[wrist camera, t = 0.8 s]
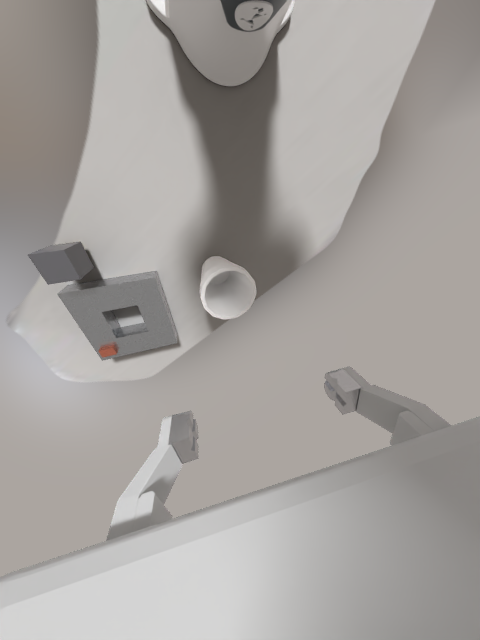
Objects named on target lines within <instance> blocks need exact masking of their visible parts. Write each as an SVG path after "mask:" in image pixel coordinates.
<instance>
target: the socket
mask: <svg viewBox="0 0 480 640" xmlns="http://www.w3.org/2000/svg"><path fill="white" fill-rule="evenodd" d="M58 296H59V297H60V299H61V300H62V302H63V303H64V305H65V306H66V308H67V309H68V311H69V312H70V314H71V315H72V317H73V318H74V320H75V321H76V323H77V324H78V325H79V327H80V328H81V330H82V331H83V333H84V334H85V336H86V337H87V339H88V340H89V342H90V343H91V345H92V346H93V348H94V349H95V351H96V352H97V354H98V355H99V357H100V358H101V360H107V359H111V358H115V357H119V356H124V355H128V354H132V353H137V352H141V351H145V350H150V349H154V348H158V347H163V346H167V345H171V344H175V343H177V331H176V328H175V325H174V322H173V319H172V316H171V313H170V310H169V307H168V304H167V301H166V298H165V295H164V292H163V289H162V286H161V283H160V280H159V277H158V274H157V271H153V272H146V273H140V274H134V275H128V276H122V277H116V278H109V279H103V280H97V281H91V282H85V283H79V284H73V285H68V286H66V287H65V288H64V289H63V290H62V291H60V292H59V293H58ZM136 305H137V306H138V308H139V310H140V313H141V315H142V317H143V320H144V322H145V323H141V324H136V325H131V326H126V327H120V325H119V323H118V321H117V320H116V318H115V316H114V314H113V312H112V310H115V309H120V308H126V307H131V306H136Z"/></svg>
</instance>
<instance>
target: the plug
mask: <svg viewBox="0 0 480 640" xmlns="http://www.w3.org/2000/svg"><path fill="white" fill-rule="evenodd" d="M28 256H29V258H30V259H31V260H32V262H33V263H34V265H35V266H36V268H37V269H38V271H39V272H40V274H41V275H42V277H43V278H44V279H45V281H46V282H47V284H54V283H61V282H67V281H73V280H80V279H82V278H83V277H84V276H85V275H86V274H87V273H88V272H90V271H91V270H92V269H93V268H94V267H93V265H92V263H91V261H90V259H89V257H88V255H87V253H86V251H85V249H84V247H83V245H82V243H81V242H74V243H66V244H58V245H51V246H48V247H46V248H43V249H41V250H38V251H36V252H33V253H31V254H28Z"/></svg>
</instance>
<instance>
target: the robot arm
mask: <svg viewBox="0 0 480 640" xmlns="http://www.w3.org/2000/svg"><path fill="white" fill-rule="evenodd" d="M146 1H147V3H148V5H149V7H150V8H151V10H152V11H153V12H154V13H155V14H156V15H157V17H158V18H159V19H160V20H161V21H163V22H164V23H165V24H166V25H167V26H168V27H169V28H170V29H171V31H172V32H173V33H174V35H175V37H176V38H177V40H178V42H179V44H180V45H181V47H182V49H183V51H184V52H185V54H186V56H187V57H188V59H189V60H190V61H191V63H192V64H193V65H194V66H195V67H196V69H197V70H198V71H199V72H200V73H201V74H203V75H204V76H205V77H206V78H208V79H209V80H211V81H212V82H214V83H217V84H219V85H223V86H237V85H240V84H243V83H245V82H246V81H248V80H249V79H251V78H252V77H253V76H254V75H255V74H256V73H257V72H258V70H259V69H260V67H261V66H262V64H263V62H264V61H265V59H266V56H267V54H268V52H269V49H270V46H271V44H272V41H273V39H274V37H275V35H276V34H277V33H278V32H279V31H280V30H281V29H282V28H283V27H284V25H285V24H286V23H287V21H288V20H289V18H290V16H291V13H292V11H293V8H294V0H146ZM325 379H326V382H325V383H324V388H325V391H326V393H327V395H328V397H329V398H330V399H332V400H334V401H335V406H336V407H337V408H338V410H339V411H340V412H341V413H342V414H346V413H350V412H354V411H356V412H358V413H359V414H361V415H363V416H364V417H366V418H368V419H369V420H371V421H373V422H374V423H376V424H378V425H379V426H381V427H383V428H384V429H386V430H387V431H389V432H391V433H392V437H391V440H390V444H391V445H392V446H390V447H386V448H383V449H381V450H377V451H374V452H371V453H369V454H365V455H362V456H359V457H356V458H354V459H350V460H347V461H344V462H341V463H338V464H335V465H332V466H329V467H326V468H323V469H321V470H317V471H314V472H311V473H308V474H305V475H302V476H300V477H297V478H293V479H290V480H287V481H284V482H282V483H278V484H275V485H272V486H269V487H266V488H264V489H260V490H257V491H254V492H252V493H248V494H245V495H242V496H239V497H236V498H233V499H230V500H227V501H224V502H221V503H219V504H215V505H212V506H209V507H206V508H203V509H200V510H197V511H195V512H192V513H188V514H185V515H182V516H180V517H176V518H174V519H172V515H171V514H170V512H169V511H168V510H167V509H166V507H165V506H164V503H165V501H166V499H167V497H168V495H169V493H170V491H171V489H172V486H173V484H174V482H175V480H176V478H177V476H178V474H179V471H180V469H181V467H182V464H183V463H186V462H189V461H192V460H195V459H198V444H197V441H196V440H197V439H198V427H197V423H196V420H195V419H193V413H192V411H188V412H184V413H180V414H176V415H172V416H168V417H165V418H164V419H163V420H162V424H161V430H160V436H159V441H158V447H157V448H156V449H154V450H153V452H152V453H151V454H150V456H149V457H148V459H147V460H146V462H145V463H144V464H143V466H142V467H141V469H140V470H139V472H138V473H137V474H136V476H135V477H134V479H133V480H132V481H131V483H130V484H129V486H128V487H127V488H126V490H125V491H124V493H123V494H122V496H121V497H120V498H119V500H118V502H117V505H116V509H115V512H114V516H113V519H112V522H111V526H110V529H109V533H108V536H107V540H106V541H105V542H101V543H99V544H95V545H93V546H90V547H86V548H84V549H81V550H77V551H74V552H71V553H69V554H65V555H62V556H59V557H57V558H53V559H50V560H47V561H45V562H42V563H38V564H35V565H32V566H29V567H26V568H23V569H20V570H17V571H14V572H11V573H9V574H6V575H4V576H2V577H0V640H480V417H476V418H473V419H470V420H467V421H464V422H461V423H458V424H455V425H452V426H451V425H450V424H449V423H448V422H446V421H445V420H444V419H443V418H441V417H440V416H439V415H437V414H436V413H435V412H434V411H432V410H431V409H430V408H429V407H427V406H426V405H425V404H422V403H420V402H417V401H414V400H412V399H409V398H407V397H404V396H401V395H399V394H396V393H394V392H391V391H388V390H386V389H383V388H380V387H378V386H376V385H370V384H369V383H368V382H367V381H366V380H365V379H364V378H363V377H362V376H360V375H359V374H358V373H357V372H356V371H355V370H354V369H353V368H351V367H346V368H342V369H338V370H335V371H331V372H328V373H326V374H325Z"/></svg>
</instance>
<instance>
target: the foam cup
mask: <svg viewBox="0 0 480 640" xmlns="http://www.w3.org/2000/svg"><path fill="white" fill-rule="evenodd" d="M256 293H257V291H256V285H255V281H254V279H253V278H252V277H251V276H250V274H249V273H248V272H247V271H246V270H245V269H244V267H241V266H239V265H237V264H234V263H232V262H230V261H229V260H227V259H225V258H223V257H220V256H212V257H210V258H208V259H206V261H205V262H204V264H203V265H202V272H201V283H200V290H199V294H200V298H201V301H202V303H203V306H204V309H205V310H206V311H207V312H209V313H210V314H211V315H212V316H213V317H217V318H220V319H224V320H225V319H233V318H237V317H238V316H240V315H242V314H244V313H246V312H247V311H248V309H249V308H250V307H251V306H252V305H253V303H254V300H255V297H256Z"/></svg>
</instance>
